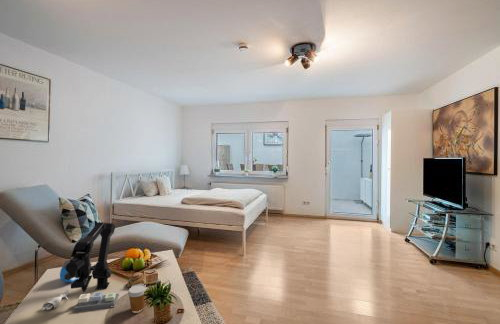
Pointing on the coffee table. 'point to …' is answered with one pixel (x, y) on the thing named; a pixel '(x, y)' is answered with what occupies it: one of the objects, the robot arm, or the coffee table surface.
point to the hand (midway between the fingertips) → (84, 291)
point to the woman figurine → (55, 301)
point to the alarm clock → (63, 272)
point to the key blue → (97, 296)
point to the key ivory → (83, 298)
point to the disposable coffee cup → (137, 297)
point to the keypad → (95, 304)
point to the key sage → (110, 297)
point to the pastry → (136, 279)
